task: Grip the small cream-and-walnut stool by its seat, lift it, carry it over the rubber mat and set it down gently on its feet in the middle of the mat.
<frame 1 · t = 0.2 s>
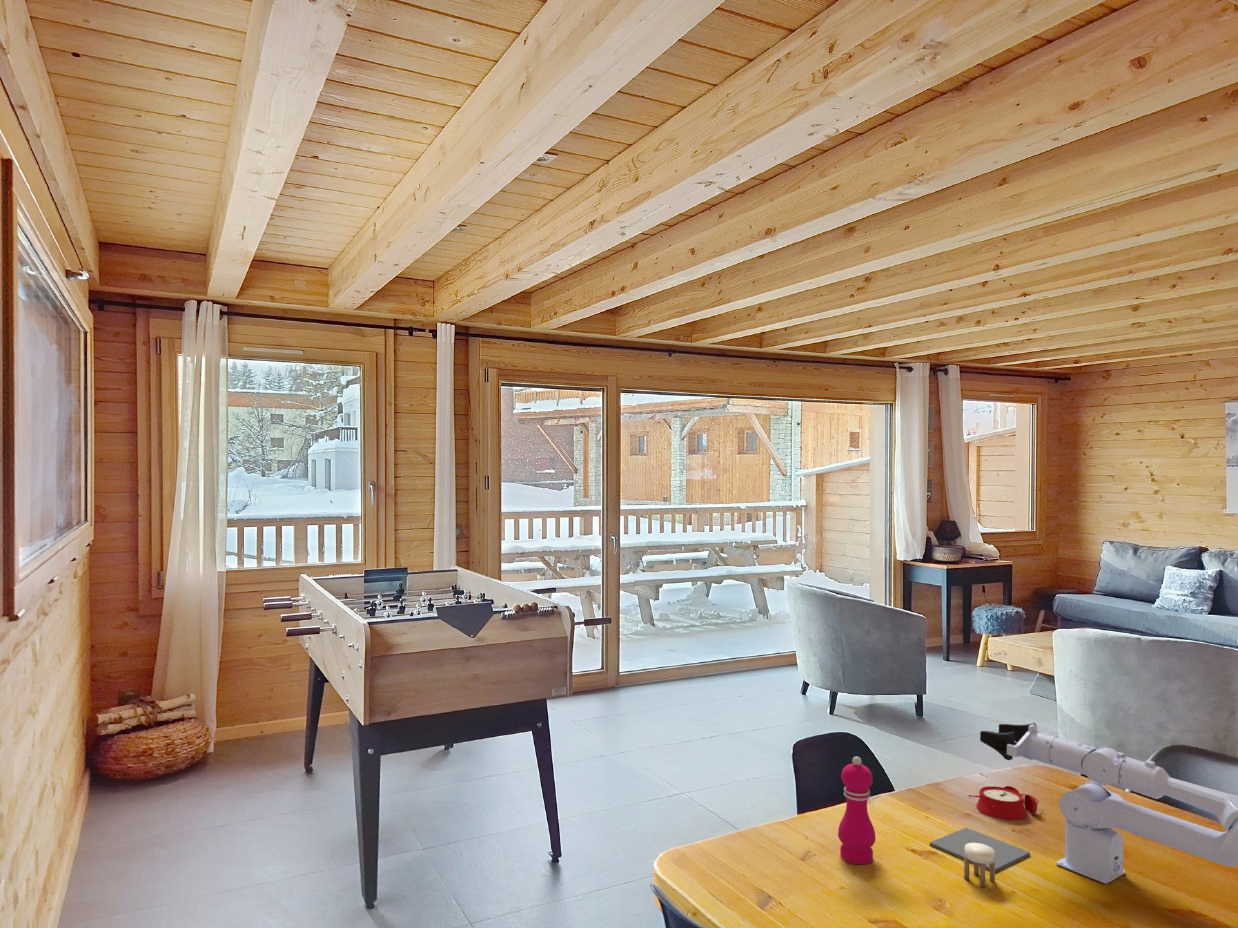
hand: (990, 732, 175), 21 cm above the table, tool horizontal, fingers open, 7 cm apart
pepper mill: (856, 858, 163), on the table
mat: (979, 850, 166), on the table
stool: (979, 879, 154), on the table
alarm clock: (1007, 811, 187), on the table
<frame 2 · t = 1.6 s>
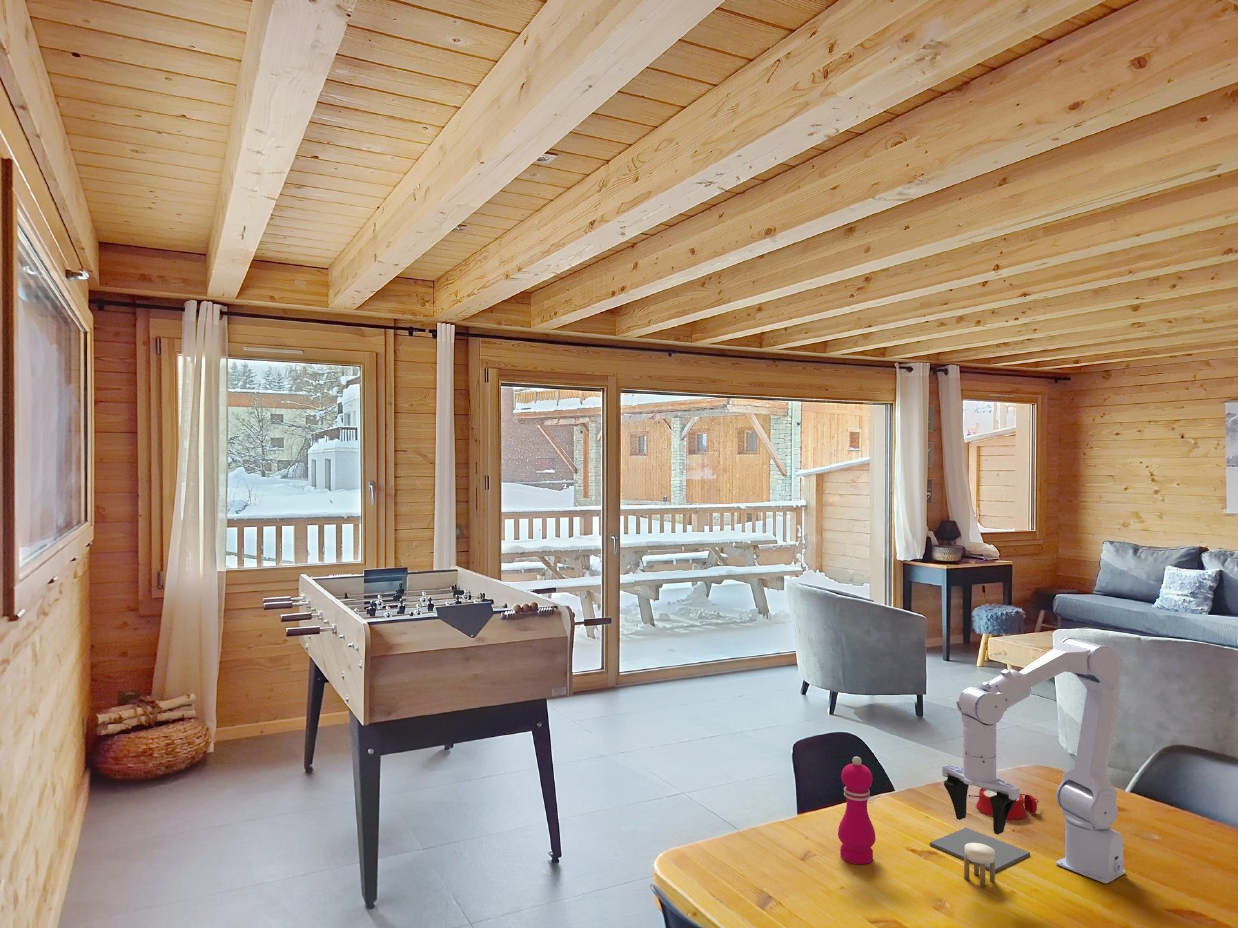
hand: (979, 825, 154), 10 cm above the table, tool pointing down, fingers open, 7 cm apart
nothing on the table moved.
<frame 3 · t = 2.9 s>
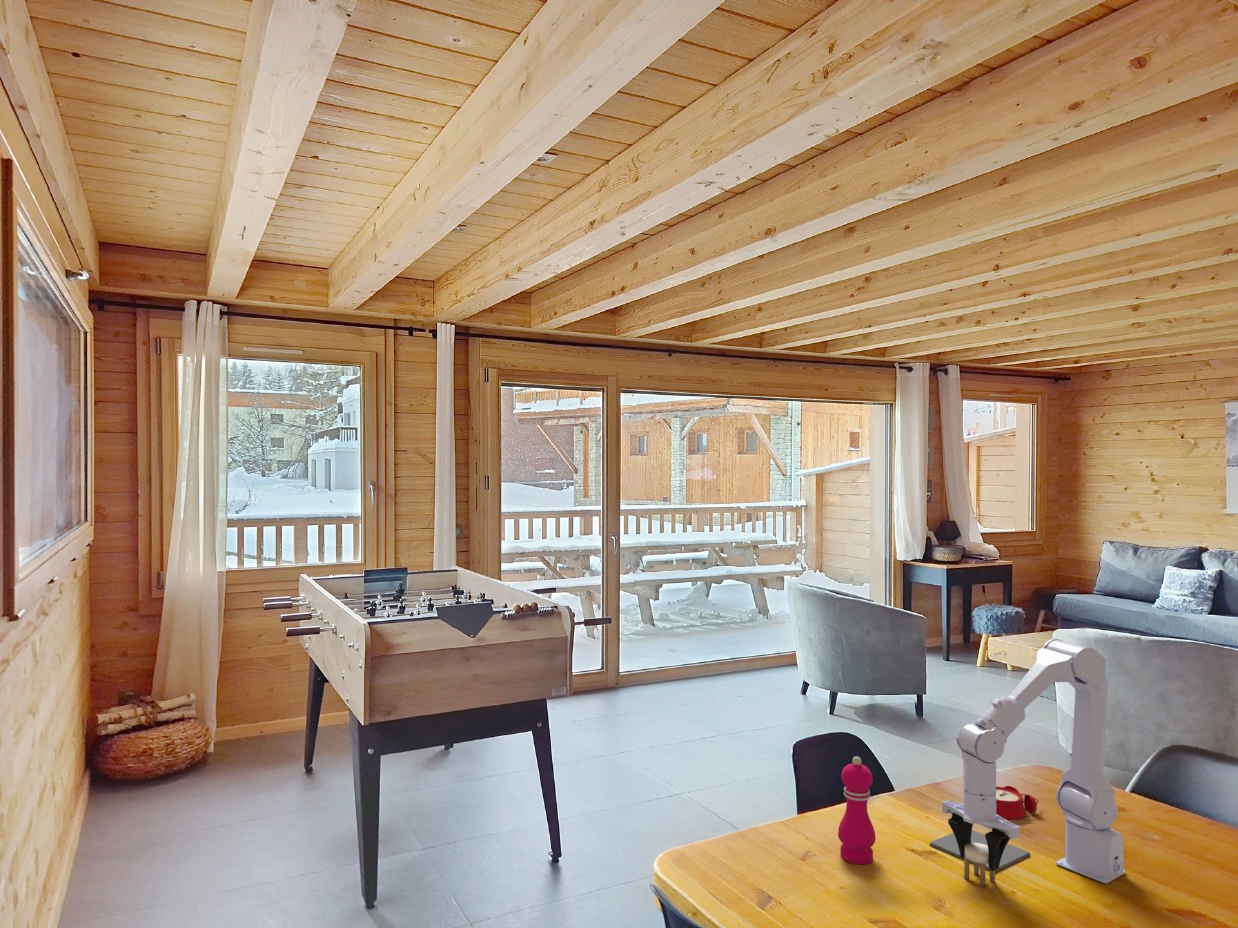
hand: (979, 862, 154), 3 cm above the table, tool pointing down, fingers closed on stool, 5 cm apart
stool: (979, 879, 154), on the table, touching gripper
everything else where it was.
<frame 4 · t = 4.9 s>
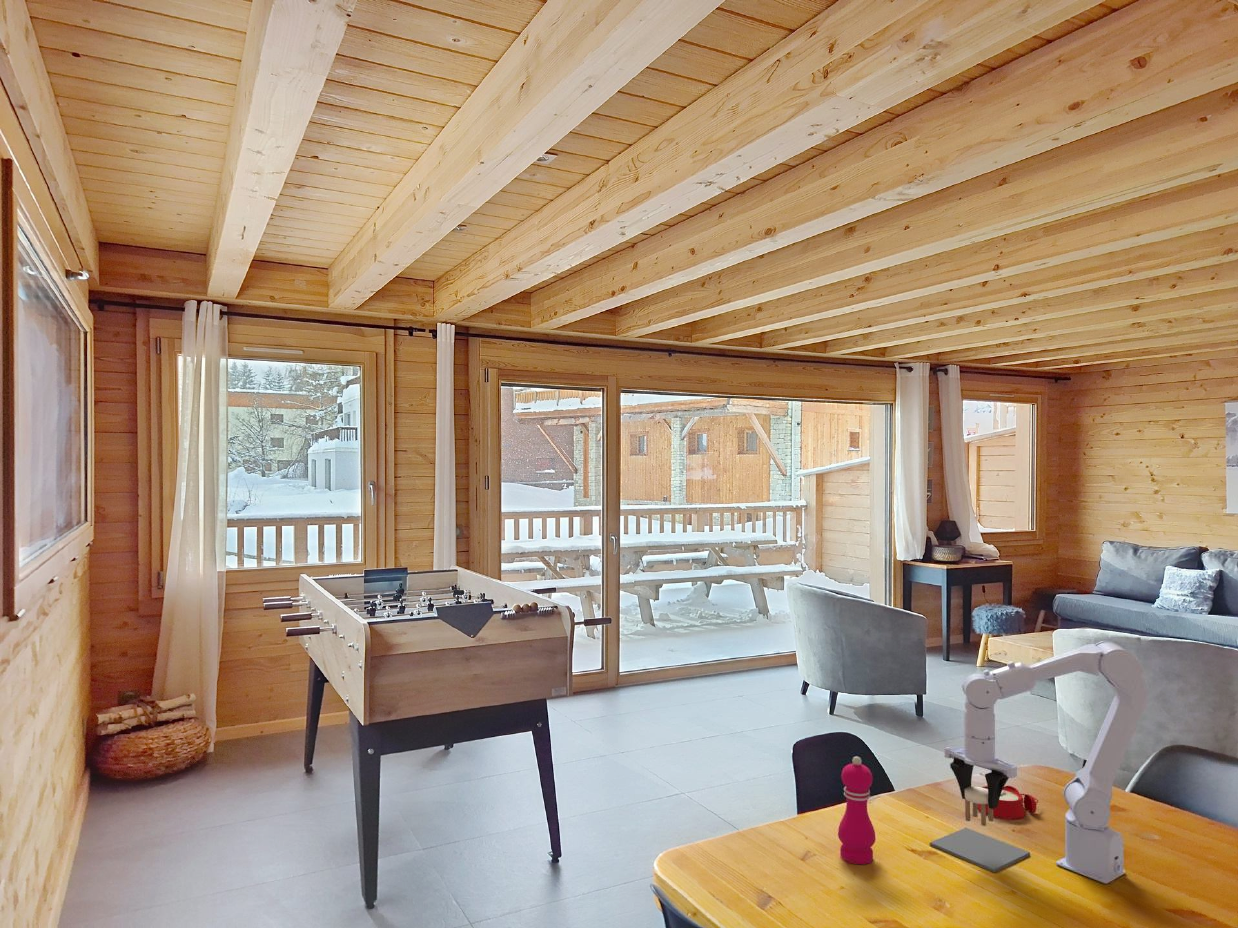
hand: (979, 802, 165), 10 cm above the table, tool pointing down, fingers closed on stool, 5 cm apart
stool: (979, 820, 165), point 7 cm above the table, touching gripper
everything else where it was.
when the fingers open (5 cm above the table, at t = 6.9 s): stool stays where it is, resting on mat.
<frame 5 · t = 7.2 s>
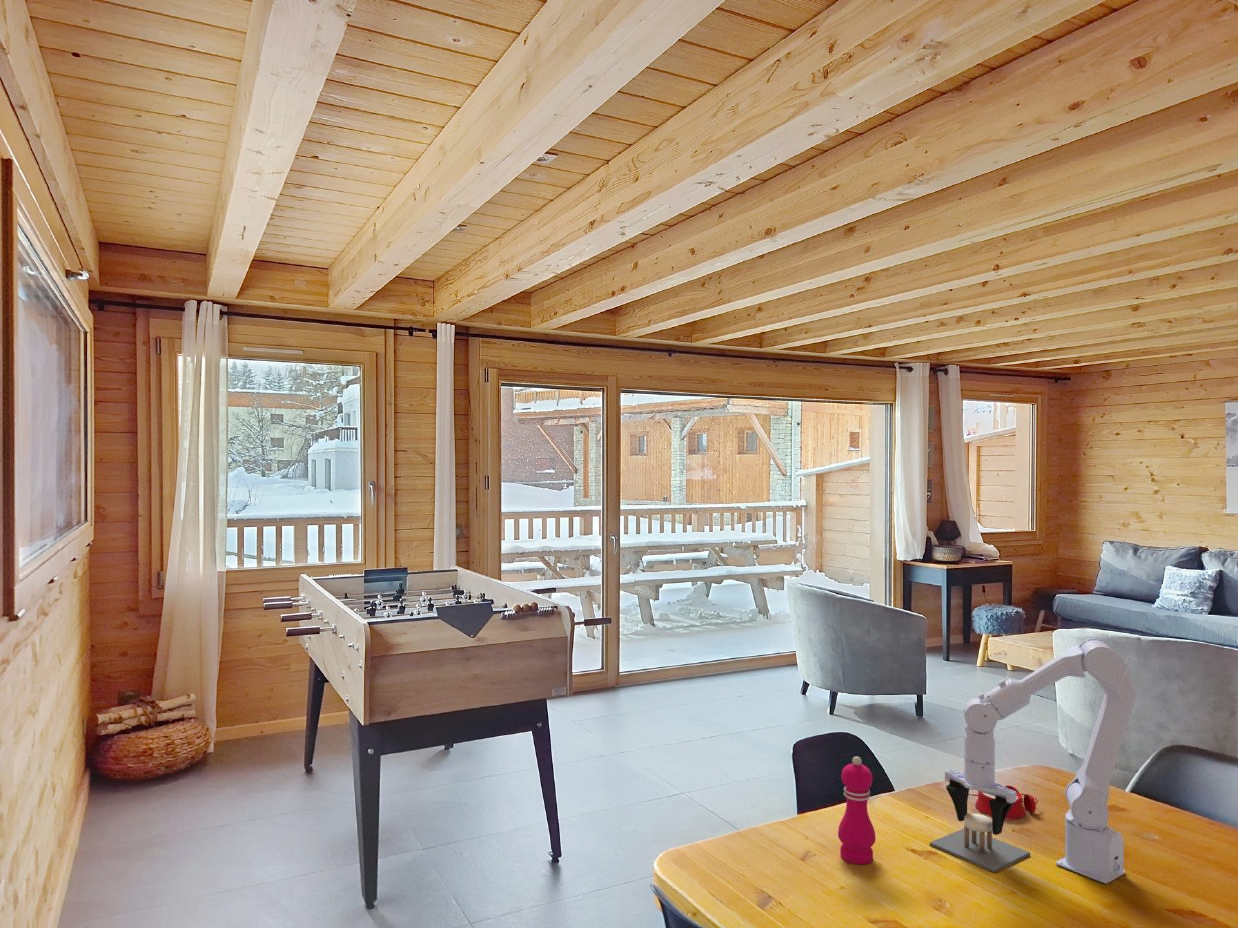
hand: (979, 826, 166), 5 cm above the table, tool pointing down, fingers open, 7 cm apart
stool: (978, 847, 166), point 1 cm above the table, touching mat
everything else where it was.
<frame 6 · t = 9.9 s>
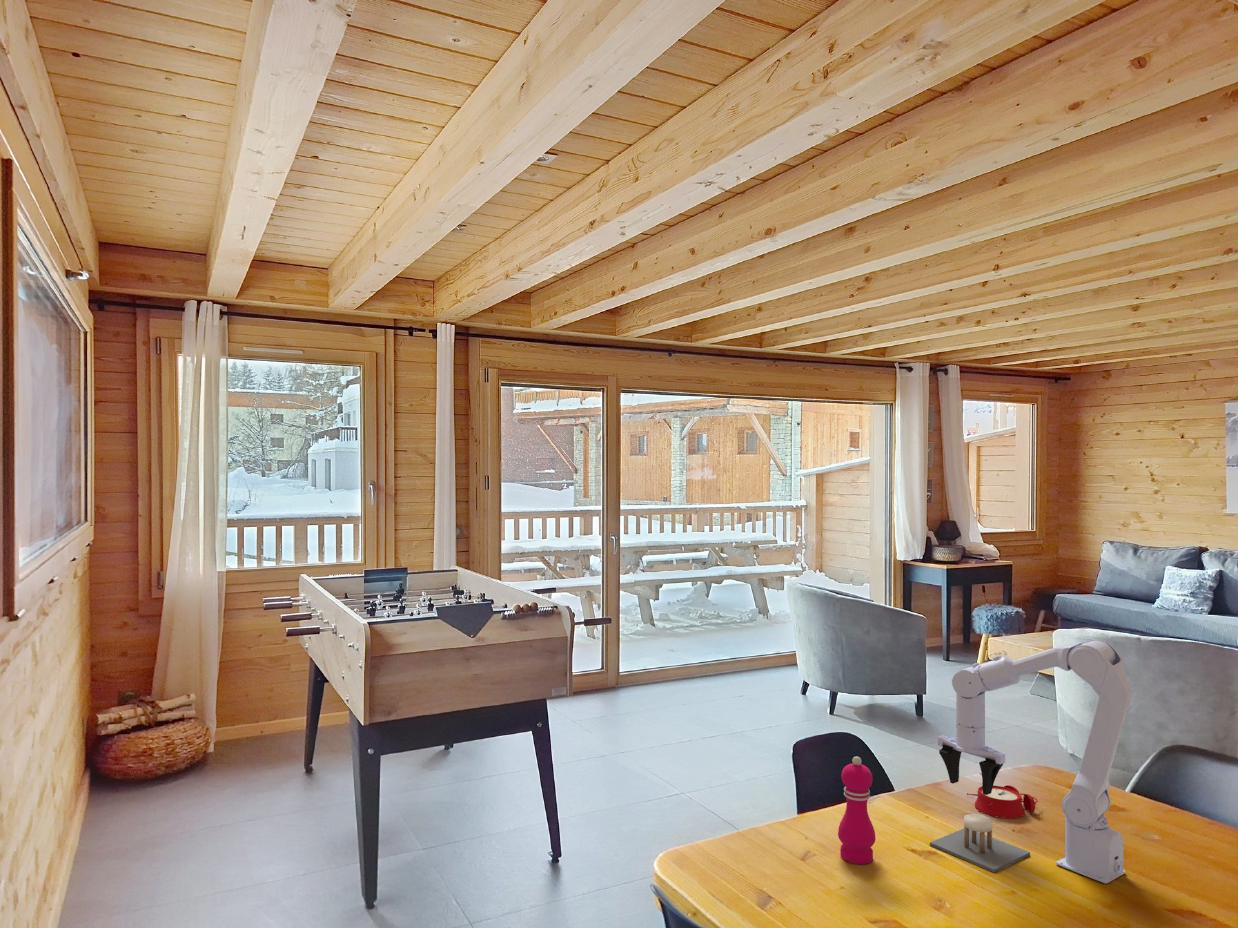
hand: (970, 787, 175), 9 cm above the table, tool pointing down, fingers open, 7 cm apart
nothing on the table moved.
at the end: stool inside the target area on the mat (0.3 cm from its centre), point 0.6 cm above the mat's base; stool tilted 0°; the gripper is holding nothing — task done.
